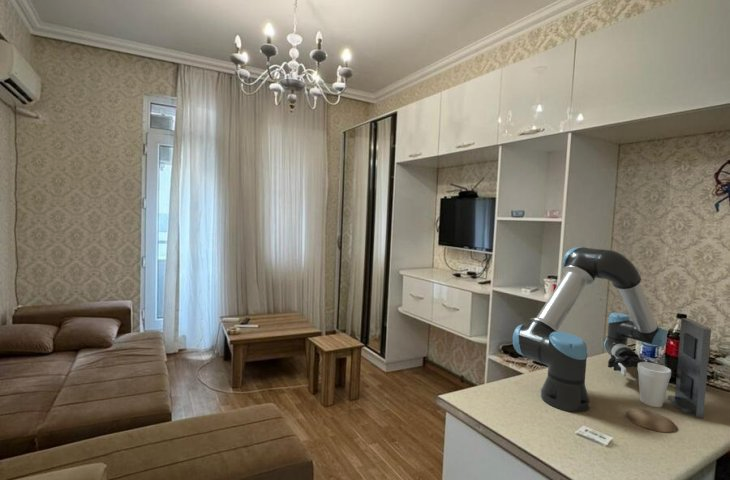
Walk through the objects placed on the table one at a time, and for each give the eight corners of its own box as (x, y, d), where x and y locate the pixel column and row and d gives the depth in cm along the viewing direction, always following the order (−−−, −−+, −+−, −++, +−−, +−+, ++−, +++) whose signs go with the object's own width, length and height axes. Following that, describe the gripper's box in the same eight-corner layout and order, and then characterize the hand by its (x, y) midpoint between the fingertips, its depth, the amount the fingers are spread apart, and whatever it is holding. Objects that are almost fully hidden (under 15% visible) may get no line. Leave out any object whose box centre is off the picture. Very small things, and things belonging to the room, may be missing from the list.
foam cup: (634, 393, 141) (636, 359, 140) (665, 400, 136) (668, 365, 135) (636, 404, 132) (639, 368, 132) (670, 412, 128) (673, 374, 127)
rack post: (685, 415, 125) (692, 327, 123) (665, 396, 139) (671, 317, 137) (703, 418, 124) (711, 329, 122) (681, 399, 137) (688, 318, 135)
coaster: (634, 427, 117) (634, 425, 117) (619, 407, 130) (619, 406, 130) (684, 435, 113) (684, 434, 113) (664, 414, 126) (664, 412, 126)
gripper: (658, 368, 157) (685, 390, 136) (591, 360, 164) (607, 380, 143) (659, 350, 156) (687, 370, 136) (592, 343, 163) (608, 361, 143)
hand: (646, 375), depth 140 cm, fingers open, 13 cm apart
